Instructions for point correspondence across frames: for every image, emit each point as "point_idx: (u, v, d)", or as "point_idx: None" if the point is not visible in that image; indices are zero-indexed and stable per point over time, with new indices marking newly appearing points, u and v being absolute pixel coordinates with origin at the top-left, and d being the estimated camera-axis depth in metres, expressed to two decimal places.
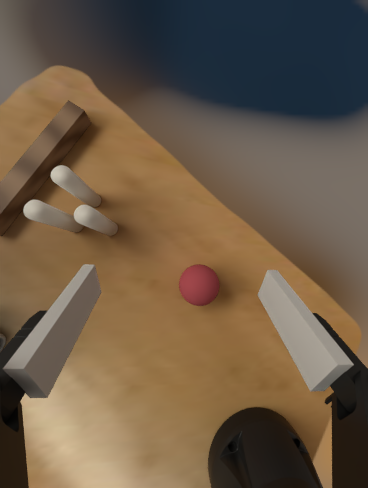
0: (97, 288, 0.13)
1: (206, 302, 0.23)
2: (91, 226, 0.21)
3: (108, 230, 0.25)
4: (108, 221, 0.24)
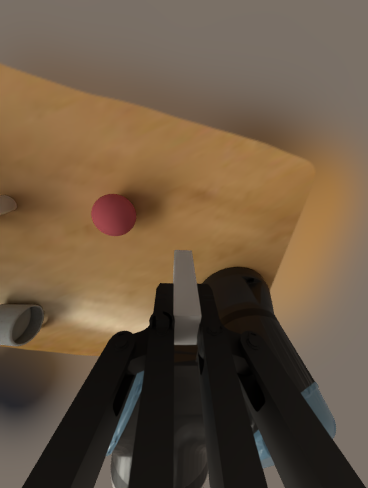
0: None
1: (125, 230, 0.24)
2: None
3: None
4: None
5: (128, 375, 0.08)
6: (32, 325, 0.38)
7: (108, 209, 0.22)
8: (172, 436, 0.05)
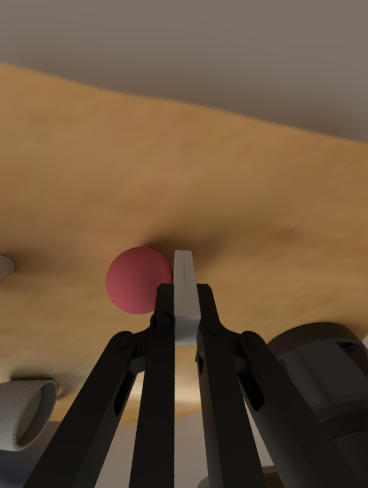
0: None
1: (149, 311, 0.14)
2: None
3: None
4: None
5: (129, 375, 0.08)
6: (44, 405, 0.29)
7: (121, 280, 0.13)
8: (173, 436, 0.05)
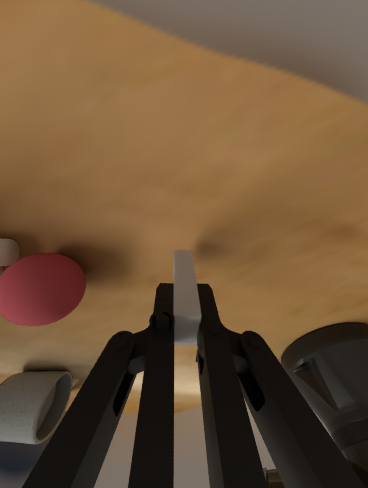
0: None
1: None
2: None
3: None
4: None
5: (128, 375, 0.08)
6: (58, 396, 0.28)
7: (55, 273, 0.13)
8: (172, 436, 0.05)
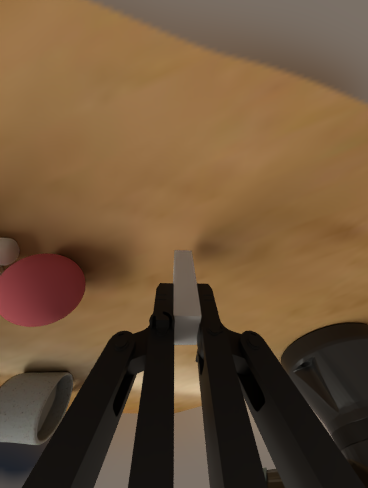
0: None
1: None
2: None
3: None
4: None
5: (128, 375, 0.08)
6: (59, 397, 0.28)
7: (54, 274, 0.13)
8: (172, 436, 0.05)
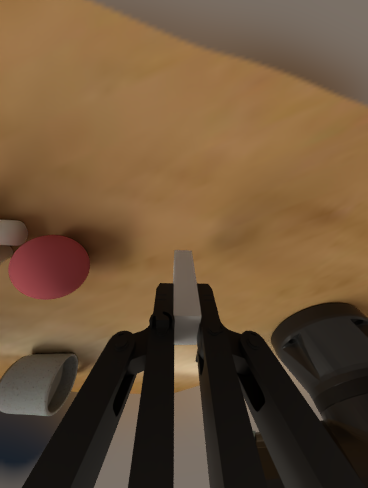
0: None
1: None
2: None
3: None
4: None
5: (128, 375, 0.08)
6: (65, 377, 0.30)
7: (63, 252, 0.14)
8: (172, 436, 0.05)
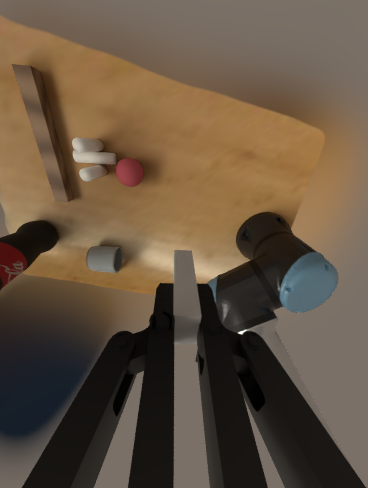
0: None
1: None
2: (80, 160, 0.37)
3: (98, 159, 0.37)
4: (93, 153, 0.37)
5: (128, 375, 0.08)
6: (116, 264, 0.52)
7: (136, 162, 0.37)
8: (172, 436, 0.05)
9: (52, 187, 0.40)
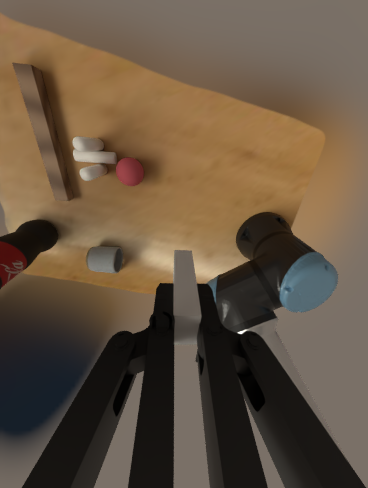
0: None
1: None
2: (80, 159, 0.37)
3: (99, 158, 0.37)
4: (94, 152, 0.37)
5: (128, 375, 0.08)
6: (116, 264, 0.52)
7: (137, 162, 0.37)
8: (172, 436, 0.05)
9: (52, 186, 0.40)
